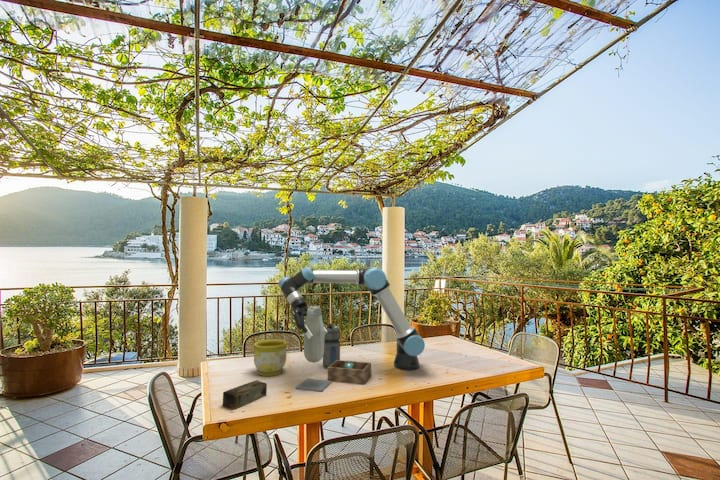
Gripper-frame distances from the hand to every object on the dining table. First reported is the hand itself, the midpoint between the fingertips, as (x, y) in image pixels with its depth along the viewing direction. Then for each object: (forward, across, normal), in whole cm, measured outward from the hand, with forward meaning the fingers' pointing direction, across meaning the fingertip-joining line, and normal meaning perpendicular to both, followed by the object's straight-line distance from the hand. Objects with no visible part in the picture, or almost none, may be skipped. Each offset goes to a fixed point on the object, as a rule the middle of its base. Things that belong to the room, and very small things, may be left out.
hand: (318, 335), depth 176 cm
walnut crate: (+22, -19, -14) cm, 32 cm away
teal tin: (+20, -21, -14) cm, 32 cm away
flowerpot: (-8, 0, -44) cm, 45 cm away
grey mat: (+16, 0, -20) cm, 25 cm away
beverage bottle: (+6, -29, -30) cm, 42 cm away
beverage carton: (+8, +32, -28) cm, 44 cm away
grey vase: (+8, 0, -12) cm, 14 cm away
